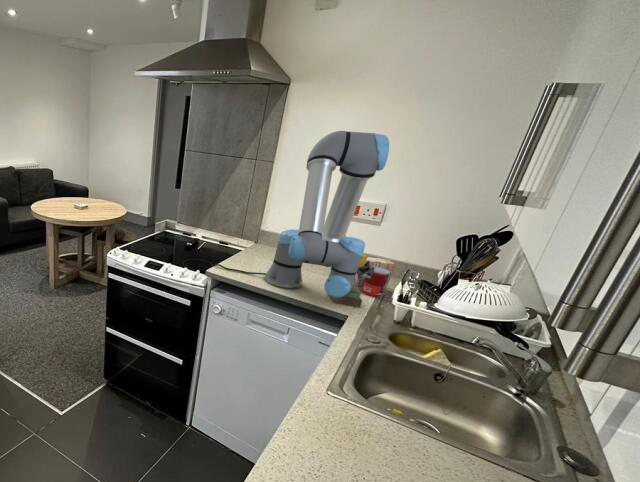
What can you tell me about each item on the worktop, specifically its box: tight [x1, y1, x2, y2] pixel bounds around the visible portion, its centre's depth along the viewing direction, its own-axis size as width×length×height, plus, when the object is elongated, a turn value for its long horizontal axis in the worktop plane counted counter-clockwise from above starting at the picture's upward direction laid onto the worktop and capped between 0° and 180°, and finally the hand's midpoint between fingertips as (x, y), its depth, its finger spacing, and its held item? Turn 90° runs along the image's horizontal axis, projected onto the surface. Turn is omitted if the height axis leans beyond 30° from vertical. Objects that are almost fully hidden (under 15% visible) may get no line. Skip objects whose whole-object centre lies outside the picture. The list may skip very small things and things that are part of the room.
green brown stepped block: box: [330, 285, 363, 308], centre depth 158 cm, size 9×9×6 cm
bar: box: [358, 252, 368, 280], centre depth 153 cm, size 4×4×10 cm
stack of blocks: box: [354, 256, 396, 290], centre depth 176 cm, size 21×6×12 cm, turn 84°
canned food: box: [360, 267, 390, 298], centre depth 167 cm, size 8×8×11 cm
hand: (359, 261), depth 157 cm, fingers closed on bar, 5 cm apart
